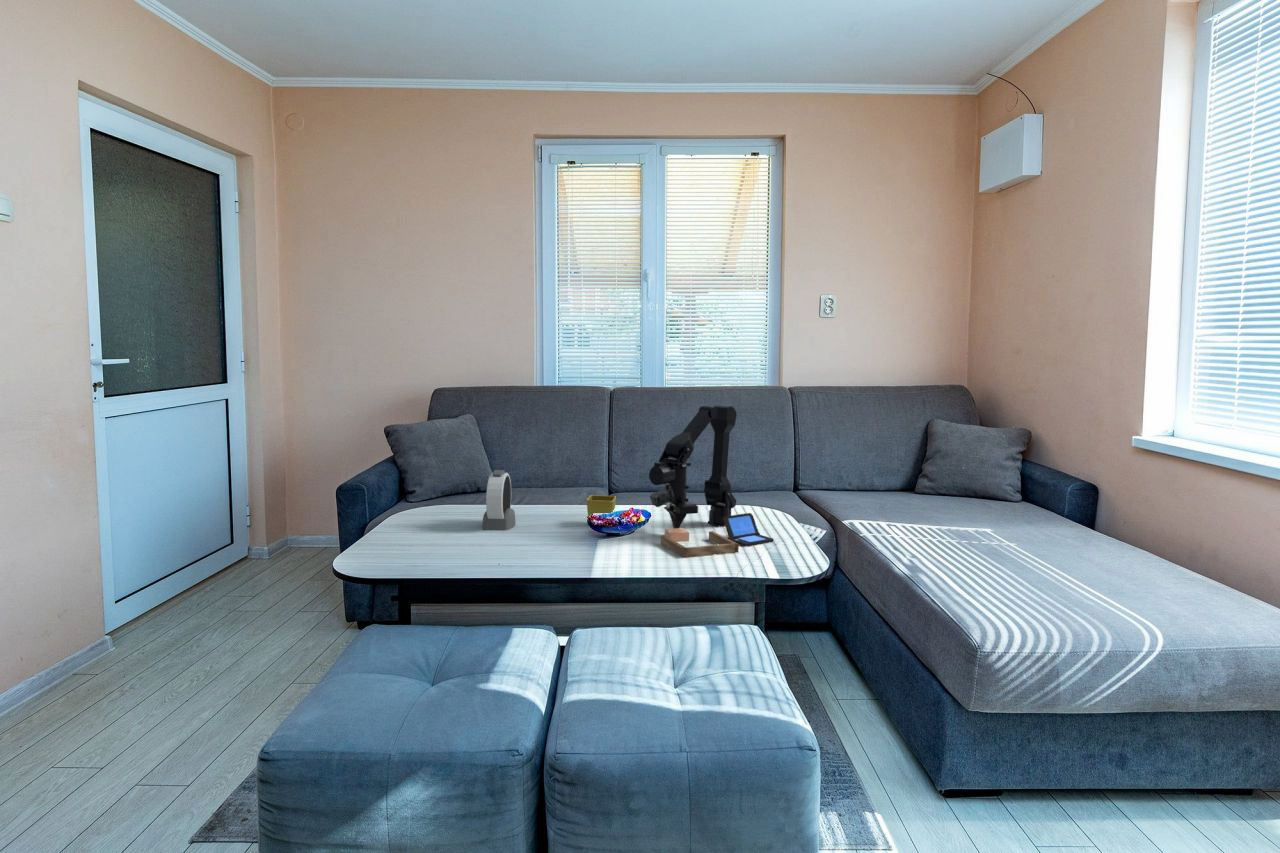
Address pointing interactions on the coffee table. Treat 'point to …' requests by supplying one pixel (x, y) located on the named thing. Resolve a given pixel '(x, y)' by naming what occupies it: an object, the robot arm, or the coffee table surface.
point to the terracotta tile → (677, 534)
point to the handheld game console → (744, 530)
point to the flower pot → (600, 504)
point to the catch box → (722, 548)
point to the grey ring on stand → (498, 503)
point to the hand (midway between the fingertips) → (676, 530)
